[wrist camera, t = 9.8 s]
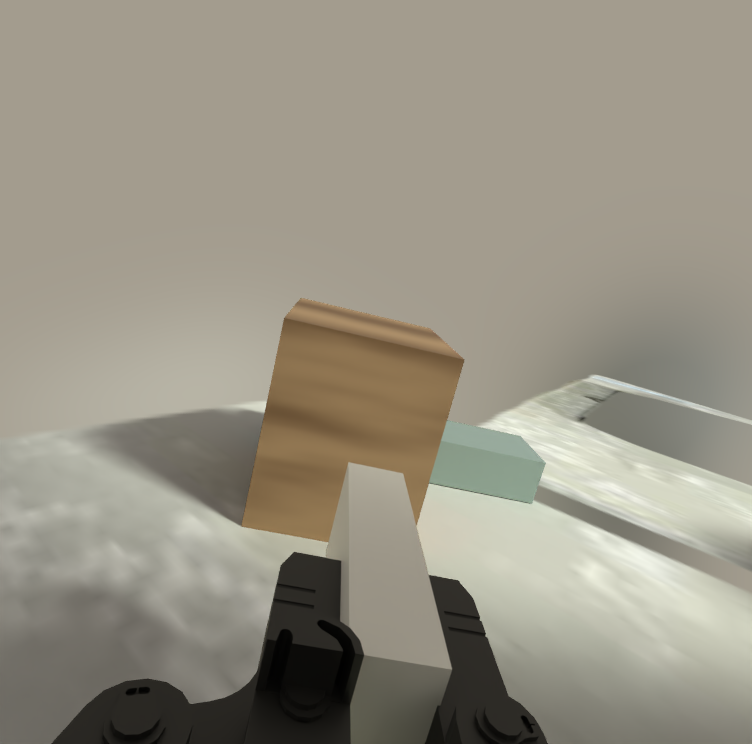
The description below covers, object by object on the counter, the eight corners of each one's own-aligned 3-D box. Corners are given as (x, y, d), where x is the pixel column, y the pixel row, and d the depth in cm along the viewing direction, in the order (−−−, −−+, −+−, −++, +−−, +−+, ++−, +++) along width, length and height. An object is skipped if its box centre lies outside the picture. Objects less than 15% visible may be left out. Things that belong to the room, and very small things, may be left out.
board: (532, 503, 34) (545, 463, 34) (266, 450, 32) (276, 405, 32) (508, 471, 39) (520, 436, 39) (277, 423, 37) (285, 385, 37)
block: (407, 557, 25) (464, 359, 22) (241, 527, 24) (284, 317, 21) (390, 476, 33) (429, 328, 31) (268, 451, 32) (300, 297, 30)
